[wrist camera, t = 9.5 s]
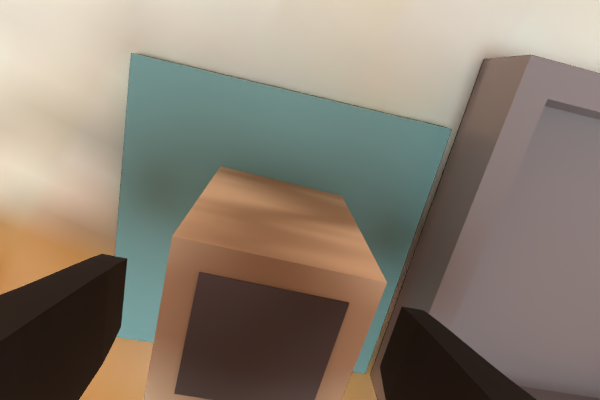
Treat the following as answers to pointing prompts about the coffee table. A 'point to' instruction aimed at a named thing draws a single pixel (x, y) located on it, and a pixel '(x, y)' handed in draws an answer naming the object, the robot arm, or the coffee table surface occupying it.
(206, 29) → the coffee table surface
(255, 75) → the coffee table surface
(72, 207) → the coffee table surface
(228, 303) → the maple block
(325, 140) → the teal board
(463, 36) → the coffee table surface
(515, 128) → the parts bin
